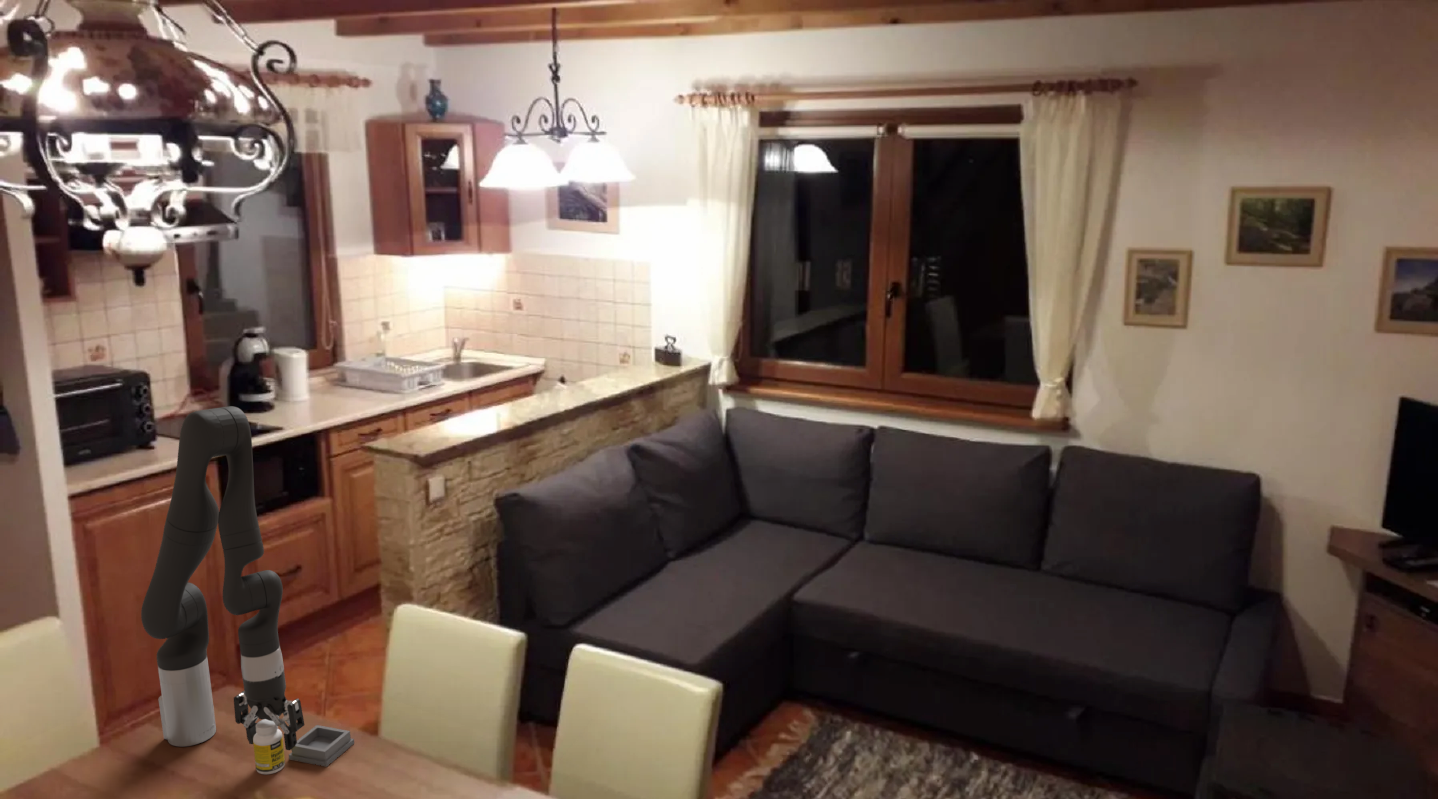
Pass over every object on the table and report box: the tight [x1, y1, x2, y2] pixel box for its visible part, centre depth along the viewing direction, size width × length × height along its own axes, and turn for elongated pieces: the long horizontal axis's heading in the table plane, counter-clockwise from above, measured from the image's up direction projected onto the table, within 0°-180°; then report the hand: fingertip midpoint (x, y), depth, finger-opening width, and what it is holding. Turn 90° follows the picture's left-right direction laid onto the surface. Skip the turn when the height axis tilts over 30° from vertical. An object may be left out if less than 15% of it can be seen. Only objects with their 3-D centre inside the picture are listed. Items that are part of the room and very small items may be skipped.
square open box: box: [288, 724, 355, 768], centre depth 219 cm, size 9×9×3 cm
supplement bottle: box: [252, 719, 286, 775], centre depth 213 cm, size 5×5×10 cm
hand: (272, 745), depth 213 cm, fingers open, 8 cm apart
